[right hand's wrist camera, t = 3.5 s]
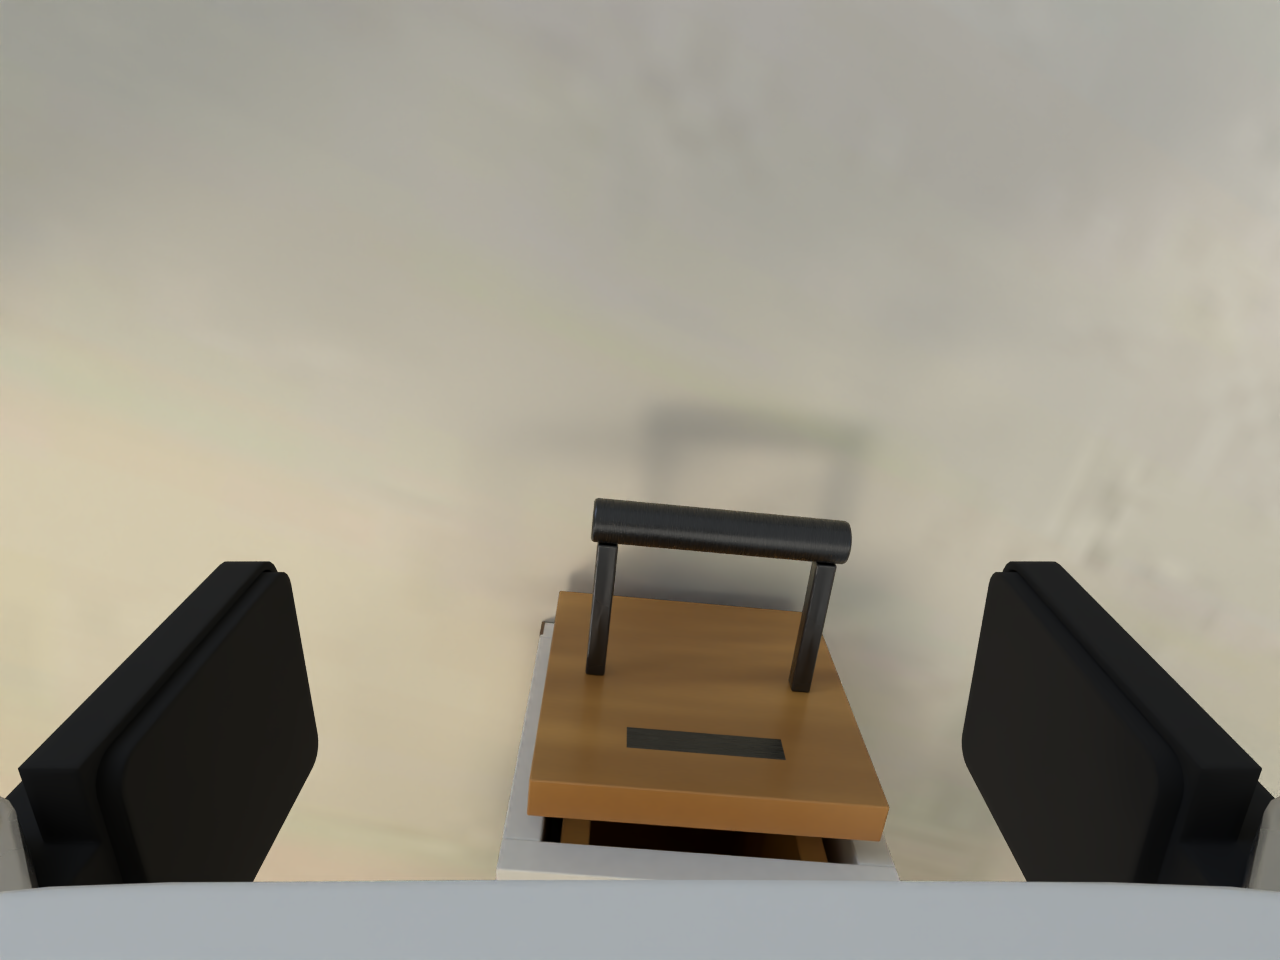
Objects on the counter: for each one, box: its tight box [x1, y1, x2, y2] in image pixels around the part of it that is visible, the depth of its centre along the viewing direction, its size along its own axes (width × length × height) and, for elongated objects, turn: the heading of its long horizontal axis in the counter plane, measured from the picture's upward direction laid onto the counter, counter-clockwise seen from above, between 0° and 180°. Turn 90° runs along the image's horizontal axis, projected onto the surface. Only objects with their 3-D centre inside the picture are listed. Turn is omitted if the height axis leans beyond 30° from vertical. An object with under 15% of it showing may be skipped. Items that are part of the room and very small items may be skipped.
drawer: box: [527, 498, 889, 863], centre depth 27 cm, size 18×9×10 cm, turn 174°
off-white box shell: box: [496, 622, 900, 881], centre depth 29 cm, size 14×11×12 cm
